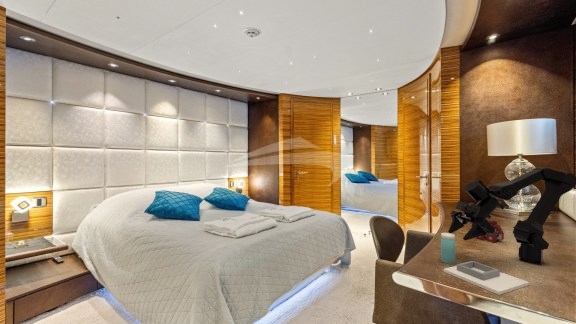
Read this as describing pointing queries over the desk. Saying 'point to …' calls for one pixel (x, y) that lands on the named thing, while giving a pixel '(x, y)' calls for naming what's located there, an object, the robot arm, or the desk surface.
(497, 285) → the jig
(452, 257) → the teal cylinder white cap
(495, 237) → the toy fire truck
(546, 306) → the desk surface
